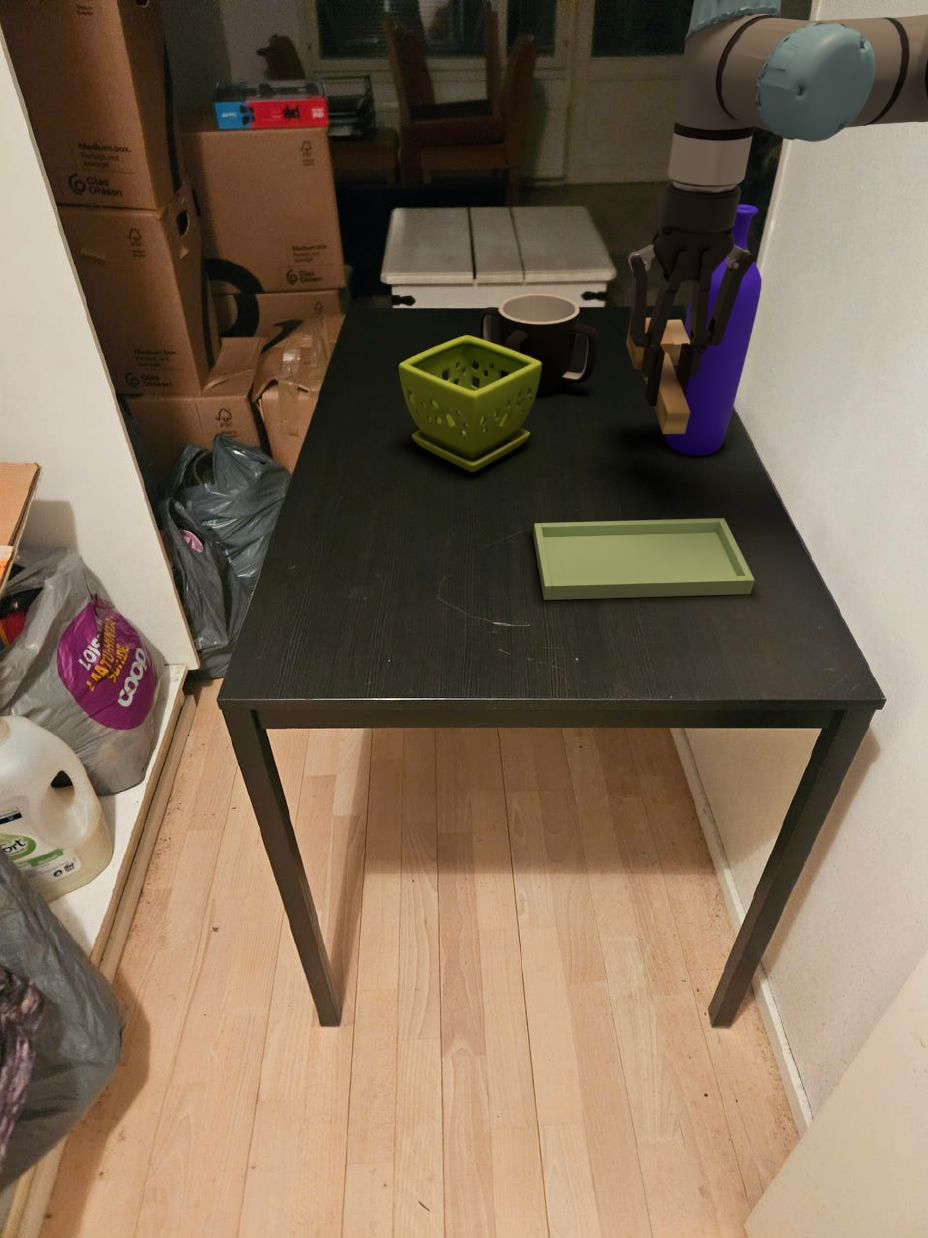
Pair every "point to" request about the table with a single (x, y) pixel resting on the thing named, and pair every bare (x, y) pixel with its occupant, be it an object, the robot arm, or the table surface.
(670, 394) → the wooden mallet
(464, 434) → the flower pot
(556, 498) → the table surface
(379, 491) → the table surface
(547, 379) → the mug
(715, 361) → the bottle
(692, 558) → the tray
